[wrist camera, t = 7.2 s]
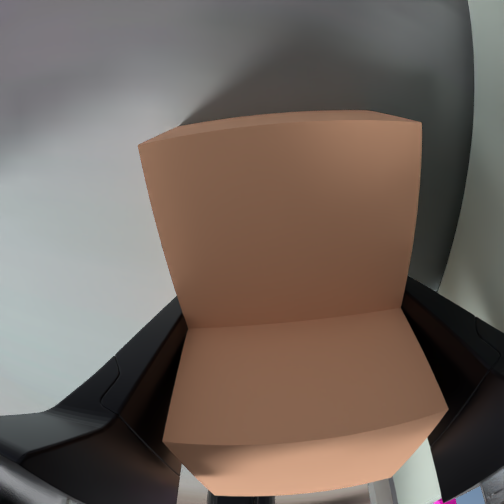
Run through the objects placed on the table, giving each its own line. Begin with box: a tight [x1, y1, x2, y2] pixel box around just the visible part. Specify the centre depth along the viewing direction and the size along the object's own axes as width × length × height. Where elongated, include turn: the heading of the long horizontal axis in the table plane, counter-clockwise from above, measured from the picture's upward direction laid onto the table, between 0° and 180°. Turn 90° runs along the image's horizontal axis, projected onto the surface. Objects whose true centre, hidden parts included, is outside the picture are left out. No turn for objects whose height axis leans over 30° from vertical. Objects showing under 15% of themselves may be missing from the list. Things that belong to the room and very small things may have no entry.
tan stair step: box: [138, 110, 448, 496], centre depth 8 cm, size 10×6×7 cm, turn 7°
